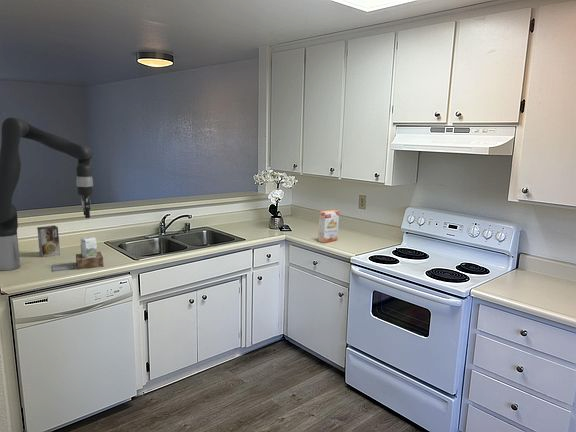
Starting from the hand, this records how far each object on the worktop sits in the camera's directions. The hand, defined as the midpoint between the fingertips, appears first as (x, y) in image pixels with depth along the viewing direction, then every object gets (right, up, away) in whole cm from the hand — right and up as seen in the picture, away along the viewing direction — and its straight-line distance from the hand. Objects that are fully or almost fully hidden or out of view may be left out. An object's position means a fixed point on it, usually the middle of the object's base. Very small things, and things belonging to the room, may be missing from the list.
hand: (86, 216), depth 214 cm
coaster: (-11, -26, -2) cm, 29 cm away
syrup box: (-1, -26, +4) cm, 26 cm away
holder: (-1, -26, +4) cm, 26 cm away
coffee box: (-31, -22, +21) cm, 44 cm away
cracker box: (+132, -17, +71) cm, 150 cm away
